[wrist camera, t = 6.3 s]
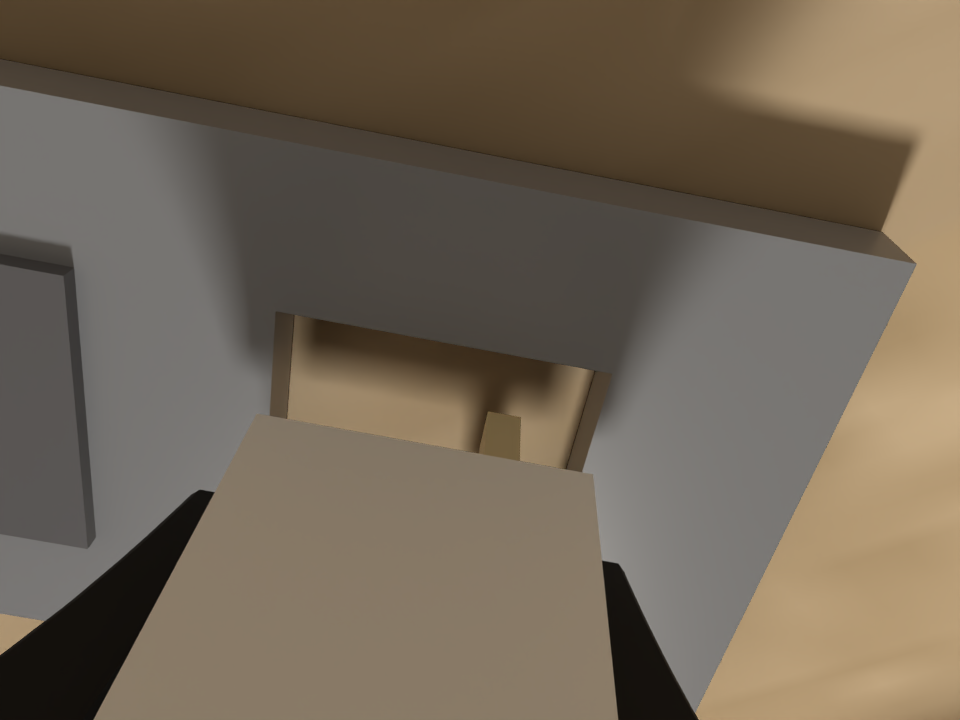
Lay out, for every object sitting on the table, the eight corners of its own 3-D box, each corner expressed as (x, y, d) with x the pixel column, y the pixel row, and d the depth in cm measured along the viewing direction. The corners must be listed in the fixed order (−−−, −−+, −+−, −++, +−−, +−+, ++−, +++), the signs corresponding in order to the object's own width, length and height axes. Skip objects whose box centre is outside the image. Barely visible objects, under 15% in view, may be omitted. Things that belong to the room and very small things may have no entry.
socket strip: (677, 677, 17) (693, 761, 15) (-303, 510, 16) (-399, 580, 14) (882, 232, 12) (939, 285, 10) (-528, -45, 11) (-717, -36, 9)
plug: (524, 611, 14) (518, 1103, 8) (275, 567, 14) (94, 1040, 8) (585, 406, 12) (635, 887, 6) (289, 351, 12) (53, 793, 6)
